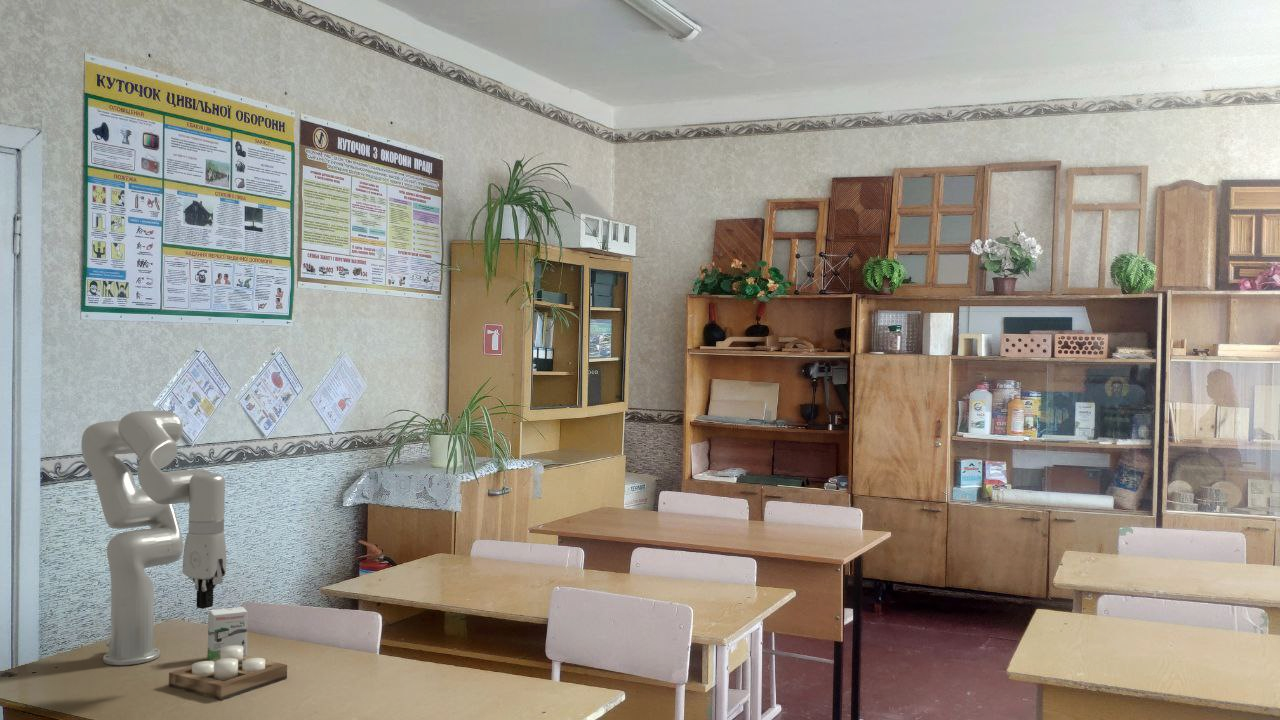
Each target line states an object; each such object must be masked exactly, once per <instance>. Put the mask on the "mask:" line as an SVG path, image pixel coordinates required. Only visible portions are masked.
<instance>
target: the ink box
mask: <svg viewBox="0 0 1280 720" xmlns="http://www.w3.org/2000/svg"><path fill="white" fill-rule="evenodd" d="M207 619H208V624H207V625H208V627H207V655H206V656H207V659H208V661H211V660H214V659H217V658H220V651H221V648H223V647H226V646H233V645H238V646H243V655H246V656H248V655H247V654H248V653H247V649H248V610H247V609H246V608H245V607H244V606H238V607H229V608H218V609H210V610H209V611H208V618H207Z"/></svg>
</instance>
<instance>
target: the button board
mask: <svg viewBox="0 0 1280 720" xmlns="http://www.w3.org/2000/svg"><path fill="white" fill-rule="evenodd" d="M250 658H256V657H254V656H249V655H247V656H246V655H243V661H244V660H246V659H250ZM217 660H220V658H217V659H214V660H211V661H213V662H215V661H217ZM287 679H288V664H285V663H280V662H276V661H272V660H267V659H265V668H264V669H261V670H258V671H255V672H252V673H251V672H247V671H243V670H242V664H239V665H238V677H236V678H233V679H229V680H216V679H214V672H213V673H209V674H206V675H203V676H200V675H196V674H192V665H191V666H186V667H183V668H180V669H177V670H176V669H175V670H173V671H169V672H168V688H169V687H170V688H172V689H177V690H180V691H183V692H184V691H185V692H188V693H191V694H196V695H200V696H203V697H207V698H211V699H215V700H218V701H224V700H227V699H230V698H232V697H236V696H239V695H241V694H244V693H248V692H251V691H254V690H257V689H260V688H263V687H266V686H269V685H271V684H275V683H279V682H280V681H284V680H287Z"/></svg>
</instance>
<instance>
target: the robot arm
mask: <svg viewBox="0 0 1280 720" xmlns="http://www.w3.org/2000/svg"><path fill="white" fill-rule="evenodd" d="M183 427H184V426H183V423H182V420H181V418H180V417H179V416H178V414H176V413H175V412H173V411H170V410H139V411H138V410H137V411H134V412H130V413H127V414H125V415H123V417H122V418H121V419H120V420H108V421H102V422H101V421H100V422H96V423H93V424H91V425H89V426H88V427H86V429H85V430H84V431H83V432H82V433H83V434H82V436H81V454H82V458H83V460H84V463H85V465H86V467H87V468H88V471H89V472H90V474H91V475H92V478H93V480H94V482H95V485H96V489H97V493H98V497H99V501H100V506H101V509H102V512H103V516H104V518H105V522H106V524H107V525H108V527H110V528H111V529H116V530H120V529H121V530H123V529H132V528H140V527H142V528H141V529H134V530H133V529H132V530H129V531H123V532H120V533H118V534H115V535H114V536H112V538H110V540H109V541H108V543H107V546H106V554H107V555H106V556H107V561H108V567H109V574H110V639H109V640H106V641H105V642H104V643H105V644H104V645H105V647H108V649H109V651H108V652H107V653H106V654H104V655H103V658H102V661H103V663H105V664H107V665H111V666H112V665H113V666H131V665H132V666H133V665H138V664H143V663H147V662H151V661H154V660H156V659H158V658H159V657H160V655H161V650H160V649H159V648H156V647H154V617H155V615H154V614H155V613H154V612H155V607H154V606H155V602H154V601H155V587H154V583H153V581H152V579H151V578H150V576H149V575H148V574H147V573H146V572H145V569H147V568H151V567H157V566H163V565H169V564H170V565H171V564H173V563H175V562H178V560H179V559H181V557H182V573H183V575H185V576H186V577H188V579H189V580H191V581H192V582H193V583H194V589H195V590H196V608H198V609H200V610H201V609H207V608H211V607H213V606H214V590H215V589H216V586H217V585H220V584H223V582H224V579H223V577H225V576H226V574H227V573H226V572H227V546H226V537H225V499H226V497H225V492H226V479H225V477H224V475H223V474H220V473H216V472H215V473H214V472H212V473H211V472H210V471H208V470H207V469H202V468H201V469H200V468H199V469H184V470H183V469H181V470H173V471H171V470H170V471H162V470H161V469H163V468H166V467H167V466H169V465H170V464H171V463H172V462H173V461H174V460H175V458H176V456H177V454H178V445H177V442H178V441H179V440H180V439H181V437H182V435H183V431H184V430H183V429H184V428H183ZM126 454H128V455H129V454H135V455H136V456H137V457H138V458H139V460H140V461H139V462H138V465H137V478H138V482H139V486H140V488H138V487H137V485H136V482H135V478H134V475H133V473H132V471H131V469H130V468H129V467H128V466H127V464H125V462H123V461H122V460H121V459H119V458H118V457H117V456H116V455H126ZM182 503H188V532H187V533H186V536H185V540H184V541H183V536H182V532H181V528H180V525H179V522H178V521H179V520H178V518H177V514H176V511H175V507H174V504H182ZM147 526H148V527H149V528H143V527H147ZM182 555H183V556H182Z"/></svg>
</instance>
